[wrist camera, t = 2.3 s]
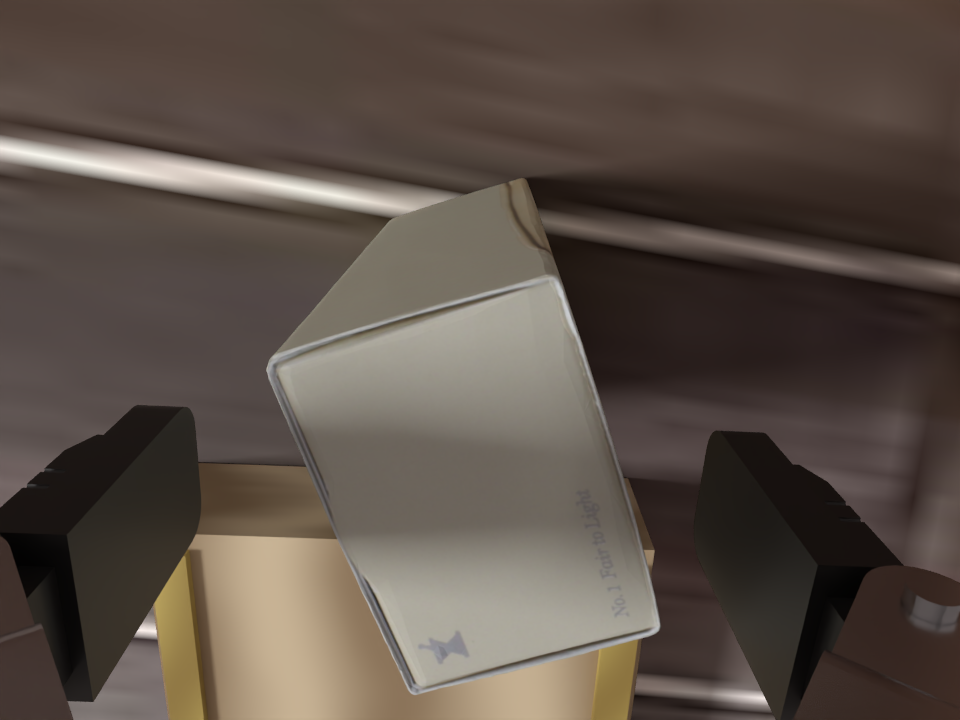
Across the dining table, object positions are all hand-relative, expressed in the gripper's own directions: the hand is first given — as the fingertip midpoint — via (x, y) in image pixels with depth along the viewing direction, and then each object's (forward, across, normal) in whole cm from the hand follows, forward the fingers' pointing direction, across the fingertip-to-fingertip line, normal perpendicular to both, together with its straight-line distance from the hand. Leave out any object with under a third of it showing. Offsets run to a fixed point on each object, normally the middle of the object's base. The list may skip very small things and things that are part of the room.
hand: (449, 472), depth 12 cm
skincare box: (+11, -1, 0) cm, 11 cm away
